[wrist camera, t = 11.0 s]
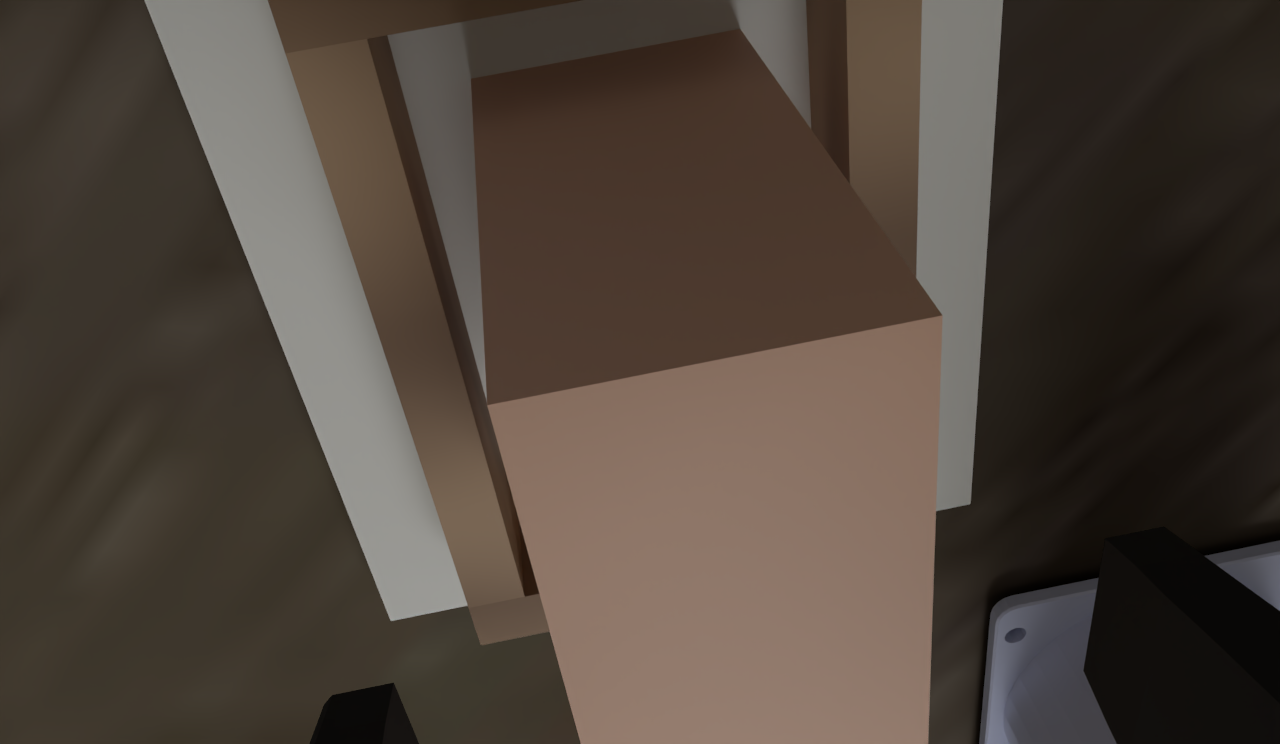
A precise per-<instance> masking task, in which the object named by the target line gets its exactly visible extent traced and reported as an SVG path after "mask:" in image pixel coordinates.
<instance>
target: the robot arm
mask: <svg viewBox="0 0 1280 744" xmlns="http://www.w3.org/2000/svg"><path fill="white" fill-rule="evenodd" d="M310 744H419V743H418V740H417V738H416V736H415V733H414V731H413V728H412V726H411V723H410V721H409V719H408V716H407V714H406V711H405V709H404V707H403V704H402V702H401V699H400V697H399V694H398V692H397V690H396V687H395V685H394V683H390V684H385V685H380V686H375V687H370V688H366V689H361V690H356V691H351V692H346V693H341V694H336V695H332V696H331V697H330V698H329V700H328V701H327V702H326V703H325V704H324V706H323V709H322V712H321V715H320V717H319V720H318V723H317V725H316V728H315V731H314V733H313V736H312V739H311V741H310ZM979 744H1280V540H1279V541H1274V542H1269V543H1264V544H1260V545H1255V546H1250V547H1245V548H1240V549H1235V550H1230V551H1226V552H1221V553H1216V554H1211V555H1206V556H1204V555H1202V554H1201V553H1200V552H1198V551H1197V550H1195V549H1194V548H1193V547H1191V546H1190V545H1189V544H1187V543H1186V542H1184V541H1183V540H1182V539H1180V538H1179V537H1177V536H1176V535H1175V534H1173V533H1172V532H1170V531H1169V530H1168V529H1166V528H1165V527H1160V528H1155V529H1150V530H1145V531H1140V532H1135V533H1130V534H1126V535H1121V536H1116V537H1111V538H1106V539H1105V542H1104V549H1103V555H1102V561H1101V567H1100V573H1099V578H1094V579H1089V580H1084V581H1080V582H1075V583H1070V584H1065V585H1060V586H1055V587H1050V588H1045V589H1041V590H1036V591H1031V592H1026V593H1021V594H1016V595H1011V596H1008V597H1005V598H1003V599H1002V600H1000V601H999V602H997V603H996V605H995V606H994V607H993V608H992V611H991V614H990V623H989V635H988V646H987V658H986V670H985V681H984V693H983V704H982V716H981V728H980V739H979Z"/></svg>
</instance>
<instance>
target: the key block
mask: <svg viewBox="0 0 1280 744" xmlns="http://www.w3.org/2000/svg"><path fill="white" fill-rule="evenodd" d="M471 93H472V113H473V133H474V153H475V173H476V193H477V213H478V233H479V252H480V272H481V292H482V312H483V332H484V352H485V372H486V392H487V406H488V410H489V414H490V417H491V421H492V425H493V428H494V432H495V435H496V439H497V443H498V446H499V450H500V453H501V457H502V461H503V464H504V468H505V471H506V475H507V479H508V482H509V486H510V489H511V493H512V497H513V500H514V504H515V507H516V511H517V515H518V518H519V522H520V526H521V529H522V533H523V536H524V540H525V544H526V547H527V551H528V554H529V558H530V562H531V565H532V569H533V572H534V576H535V580H536V583H537V587H538V590H539V594H540V598H541V601H542V605H543V609H544V612H545V616H546V619H547V623H548V627H549V630H550V634H551V637H552V641H553V645H554V648H555V652H556V655H557V659H558V663H559V666H560V670H561V673H562V677H563V681H564V684H565V688H566V691H567V695H568V699H569V702H570V706H571V710H572V713H573V717H574V720H575V724H576V728H577V731H578V735H579V738H580V742H581V744H928V731H929V702H930V672H931V643H932V613H933V584H934V554H935V525H936V495H937V466H938V436H939V407H940V377H941V348H942V318H943V315H942V314H941V312H940V311H939V310H938V308H937V307H936V305H935V304H934V303H933V301H932V300H931V298H930V297H929V295H928V294H927V293H926V291H925V290H924V288H923V287H922V286H921V284H920V283H919V281H918V280H917V278H916V277H915V276H914V274H913V273H912V271H911V270H910V269H909V267H908V266H907V264H906V263H905V261H904V260H903V259H902V257H901V256H900V254H899V253H898V252H897V250H896V249H895V247H894V246H893V244H892V243H891V242H890V240H889V239H888V237H887V236H886V235H885V233H884V232H883V230H882V229H881V227H880V226H879V225H878V223H877V222H876V220H875V219H874V218H873V216H872V215H871V213H870V212H869V210H868V209H867V208H866V206H865V205H864V203H863V202H862V201H861V199H860V198H859V196H858V195H857V193H856V192H855V191H854V189H853V188H852V186H851V185H850V184H849V182H848V181H847V179H846V178H845V177H844V175H843V174H842V172H841V171H840V169H839V168H838V167H837V165H836V164H835V162H834V161H833V160H832V158H831V157H830V155H829V154H828V152H827V151H826V150H825V148H824V147H823V145H822V144H821V143H820V141H819V140H818V138H817V137H816V135H815V134H814V133H813V131H812V130H811V128H810V127H809V126H808V124H807V123H806V121H805V120H804V118H803V117H802V116H801V114H800V113H799V111H798V110H797V109H796V107H795V106H794V104H793V103H792V101H791V100H790V99H789V97H788V96H787V94H786V93H785V92H784V90H783V89H782V87H781V86H780V84H779V83H778V82H777V80H776V79H775V77H774V76H773V75H772V73H771V72H770V70H769V69H768V67H767V66H766V65H765V63H764V62H763V60H762V59H761V58H760V56H759V55H758V53H757V52H756V50H755V49H754V48H753V46H752V45H751V43H750V42H749V41H748V39H747V38H746V36H745V35H744V33H743V32H742V31H741V29H737V30H731V31H726V32H721V33H715V34H710V35H704V36H699V37H694V38H688V39H683V40H677V41H672V42H667V43H661V44H656V45H650V46H645V47H640V48H634V49H629V50H623V51H618V52H613V53H607V54H602V55H596V56H591V57H586V58H580V59H575V60H569V61H564V62H559V63H553V64H548V65H542V66H537V67H532V68H526V69H521V70H515V71H510V72H505V73H499V74H494V75H488V76H483V77H478V78H472V79H471Z"/></svg>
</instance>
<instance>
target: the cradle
mask: <svg viewBox="0 0 1280 744" xmlns="http://www.w3.org/2000/svg"><path fill="white" fill-rule="evenodd" d="M145 3H146V6H147V8H148V11H149V13H150V16H151V18H152V21H153V23H154V26H155V28H156V31H157V33H158V36H159V38H160V41H161V43H162V46H163V48H164V51H165V53H166V56H167V58H168V61H169V63H170V66H171V69H172V71H173V74H174V76H175V79H176V81H177V84H178V86H179V89H180V91H181V94H182V96H183V99H184V101H185V104H186V106H187V109H188V111H189V114H190V116H191V119H192V121H193V124H194V126H195V129H196V132H197V134H198V137H199V139H200V142H201V144H202V147H203V149H204V152H205V154H206V157H207V159H208V162H209V164H210V167H211V169H212V172H213V174H214V177H215V179H216V182H217V184H218V187H219V189H220V192H221V194H222V197H223V200H224V202H225V205H226V207H227V210H228V212H229V215H230V217H231V220H232V222H233V225H234V227H235V230H236V232H237V235H238V237H239V240H240V242H241V245H242V247H243V250H244V252H245V255H246V257H247V260H248V263H249V265H250V268H251V270H252V273H253V275H254V278H255V280H256V283H257V285H258V288H259V290H260V293H261V295H262V298H263V300H264V303H265V305H266V308H267V310H268V313H269V315H270V318H271V320H272V323H273V325H274V328H275V331H276V333H277V336H278V338H279V341H280V343H281V346H282V348H283V351H284V353H285V356H286V358H287V361H288V363H289V366H290V368H291V371H292V373H293V376H294V378H295V381H296V383H297V386H298V388H299V391H300V394H301V396H302V399H303V401H304V404H305V406H306V409H307V411H308V414H309V416H310V419H311V421H312V424H313V426H314V429H315V431H316V434H317V436H318V439H319V441H320V444H321V446H322V449H323V451H324V454H325V456H326V459H327V462H328V464H329V467H330V469H331V472H332V474H333V477H334V479H335V482H336V484H337V487H338V489H339V492H340V494H341V497H342V499H343V502H344V504H345V507H346V509H347V512H348V514H349V517H350V519H351V522H352V525H353V527H354V530H355V532H356V535H357V537H358V540H359V542H360V545H361V547H362V550H363V552H364V555H365V557H366V560H367V562H368V565H369V567H370V570H371V572H372V575H373V577H374V580H375V582H376V585H377V587H378V590H379V593H380V595H381V598H382V600H383V603H384V605H385V608H386V610H387V613H388V615H389V618H390V620H391V621H393V620H398V619H403V618H408V617H413V616H418V615H423V614H428V613H433V612H438V611H443V610H448V609H453V608H458V607H463V606H468V608H469V611H470V614H471V617H472V620H473V623H474V626H475V629H476V632H477V635H478V638H479V641H480V644H481V645H485V644H490V643H495V642H500V641H505V640H510V639H515V638H520V637H524V636H529V635H534V634H539V633H544V632H549V631H550V630H549V627H548V623H547V619H546V616H545V612H544V609H543V605H542V601H541V598H540V594H539V590H538V587H537V583H536V580H535V576H534V572H533V569H532V565H531V562H530V558H529V554H528V551H527V547H526V544H525V540H524V536H523V533H522V529H521V526H520V522H519V518H518V515H517V511H516V507H515V504H514V500H513V497H512V493H511V489H510V486H509V482H508V479H507V475H506V471H505V468H504V464H503V461H502V457H501V453H500V450H499V446H498V443H497V439H496V435H495V432H494V428H493V425H492V421H491V417H490V414H489V410H488V406H487V392H486V372H485V352H484V332H483V312H482V292H481V272H480V252H479V233H478V213H477V193H476V173H475V153H474V133H473V113H472V93H471V79H472V78H478V77H483V76H488V75H494V74H499V73H505V72H510V71H515V70H521V69H526V68H532V67H537V66H542V65H548V64H553V63H559V62H564V61H569V60H575V59H580V58H586V57H591V56H596V55H602V54H607V53H613V52H618V51H623V50H629V49H634V48H640V47H645V46H650V45H656V44H661V43H667V42H672V41H677V40H683V39H688V38H694V37H699V36H704V35H710V34H715V33H721V32H726V31H731V30H737V29H741V31H742V32H743V33H744V35H745V36H746V38H747V39H748V41H749V42H750V43H751V45H752V46H753V48H754V49H755V50H756V52H757V53H758V55H759V56H760V58H761V59H762V60H763V62H764V63H765V65H766V66H767V67H768V69H769V70H770V72H771V73H772V75H773V76H774V77H775V79H776V80H777V82H778V83H779V84H780V86H781V87H782V89H783V90H784V92H785V93H786V94H787V96H788V97H789V99H790V100H791V101H792V103H793V104H794V106H795V107H796V109H797V110H798V111H799V113H800V114H801V116H802V117H803V118H804V120H805V121H806V123H807V124H808V126H809V127H810V128H811V130H812V131H813V133H814V134H815V135H816V137H817V138H818V140H819V141H820V143H821V144H822V145H823V147H824V148H825V150H826V151H827V152H828V154H829V155H830V157H831V158H832V160H833V161H834V162H835V164H836V165H837V167H838V168H839V169H840V171H841V172H842V174H843V175H844V177H845V178H846V179H847V181H848V182H849V184H850V185H851V186H852V188H853V189H854V191H855V192H856V193H857V195H858V196H859V198H860V199H861V201H862V202H863V203H864V205H865V206H866V208H867V209H868V210H869V212H870V213H871V215H872V216H873V218H874V219H875V220H876V222H877V223H878V225H879V226H880V227H881V229H882V230H883V232H884V233H885V235H886V236H887V237H888V239H889V240H890V242H891V243H892V244H893V246H894V247H895V249H896V250H897V252H898V253H899V254H900V256H901V257H902V259H903V260H904V261H905V263H906V264H907V266H908V267H909V269H910V270H911V271H912V273H913V274H914V276H915V277H916V278H917V280H918V281H919V283H920V284H921V286H922V287H923V288H924V290H925V291H926V293H927V294H928V295H929V297H930V298H931V300H932V301H933V303H934V304H935V305H936V307H937V308H938V310H939V311H940V312H941V314H942V315H943V318H942V348H941V377H940V407H939V436H938V466H937V495H936V511H939V510H944V509H949V508H954V507H959V506H964V505H969V504H971V489H972V474H973V458H974V443H975V427H976V412H977V396H978V381H979V365H980V350H981V334H982V319H983V303H984V288H985V272H986V257H987V241H988V226H989V210H990V195H991V179H992V163H993V148H994V132H995V117H996V101H997V86H998V70H999V55H1000V39H1001V24H1002V8H1003V0H145Z"/></svg>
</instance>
